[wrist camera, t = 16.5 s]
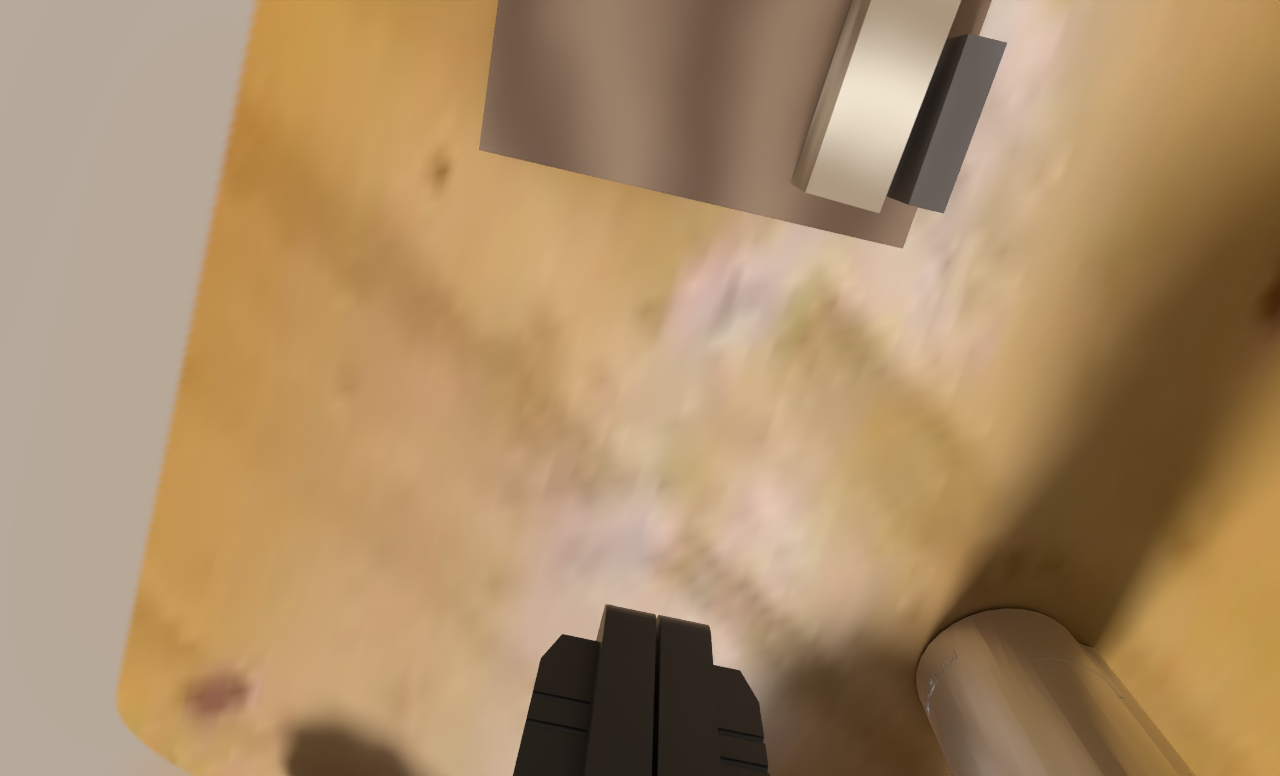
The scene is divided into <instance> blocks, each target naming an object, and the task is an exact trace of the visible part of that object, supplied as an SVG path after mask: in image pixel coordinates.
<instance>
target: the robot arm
mask: <svg viewBox="0 0 1280 776" xmlns="http://www.w3.org/2000/svg"><path fill="white" fill-rule="evenodd" d="M916 687H917V691H918V695H919V698H920V701H921V703H922V705H923V708H924V710H925V712H926V715H927V717H928V720H929V722H930V724H931V727H932V729H933V731H934V734H935V736H936V738H937V741H938V743H939V746H940V748H941V751H942V753H943V756H944V758H945V760H946V763H947V765H948V768H949V770H950V772H951V775H952V776H1195V774H1194V773H1193V772H1192V771H1191V769H1190V768H1189V767H1188V766H1187V764H1186V763H1185V762H1184V761H1183V759H1182V758H1181V757H1180V755H1179V754H1178V753H1177V752H1176V750H1175V749H1174V748H1173V747H1172V745H1171V744H1170V743H1169V742H1168V740H1167V739H1166V738H1165V736H1164V735H1163V734H1162V733H1161V731H1160V730H1159V729H1158V728H1157V726H1156V725H1155V724H1154V723H1153V721H1152V720H1151V719H1150V717H1149V716H1148V715H1147V714H1146V712H1145V711H1144V710H1143V709H1142V707H1141V706H1140V705H1139V704H1138V702H1137V701H1136V700H1135V698H1134V697H1133V696H1132V695H1131V693H1130V692H1129V691H1128V690H1127V688H1126V687H1125V686H1124V685H1123V683H1122V682H1121V681H1120V679H1119V678H1118V677H1117V676H1116V674H1115V673H1114V672H1113V671H1112V669H1111V668H1110V667H1109V665H1108V664H1107V663H1106V662H1105V660H1104V659H1103V658H1102V657H1101V655H1100V654H1099V653H1098V652H1097V650H1096V649H1095V648H1093V647H1090V646H1085V645H1082V644H1080V643H1078V642H1077V641H1076V640H1075V639H1074V637H1073V636H1072V635H1071V634H1070V632H1069V631H1068V630H1067V629H1066V628H1065V627H1064V626H1063V625H1061V624H1060V623H1059V622H1057V621H1056V620H1055V619H1053V618H1050V617H1048V616H1046V615H1044V614H1041V613H1038V612H1034V611H1029V610H1025V609H1008V608H1004V609H996V610H988V611H984V612H981V613H978V614H974V615H971V616H968V617H966V618H964V619H962V620H960V621H958V622H956V623H954V624H952V625H951V626H949V627H948V628H947V629H945V630H944V631H943V632H941V633H940V634H939V635H938V636H937V637H936V638H935V639H934V640H933V641H932V642H931V643H930V644H929V645H928V647H927V649H926V650H925V652H924V653H923V655H922V657H921V659H920V662H919V665H918V668H917V671H916ZM763 739H764V734H763V727H762V720H761V713H760V707H759V702H758V700H757V698H756V697H755V695H754V693H753V692H752V690H751V688H750V686H749V685H748V683H747V681H746V680H745V678H744V676H743V675H742V673H741V671H740V670H735V669H730V668H725V667H721V666H716V665H713V656H712V642H711V631H710V627H709V626H708V625H705V624H700V623H695V622H690V621H686V620H681V619H676V618H671V617H666V616H661V615H659V616H658V617H657V619H656V615H655V614H651V613H646V612H641V611H636V610H632V609H627V608H622V607H617V606H612V605H607V604H606V606H605V608H604V612H603V616H602V620H601V624H600V628H599V632H598V636H597V640H596V641H593V640H588V639H583V638H578V637H573V636H569V635H564V634H562V635H561V636H560V637H559V639H558V640H557V641H556V642H555V643H554V644H553V645H552V646H551V648H550V649H549V650H548V651H547V652H546V653H545V654H544V655H543V657H542V658H541V660H540V664H539V669H538V673H537V677H536V681H535V685H534V690H533V694H532V698H531V702H530V706H529V710H528V715H527V719H526V723H525V727H524V731H523V736H522V740H521V744H520V748H519V752H518V756H517V761H516V765H515V769H514V773H513V776H770V774H769V773H768V772H767V770H768V761H767V754H766V747H765V744H764V743H763Z"/></svg>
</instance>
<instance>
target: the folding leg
mask: <svg viewBox="0 0 1280 776" xmlns="http://www.w3.org/2000/svg"><path fill="white" fill-rule="evenodd" d="M960 2H961V0H852V2H851V5H850V8H849V11H848V14H847V17H846V20H845V23H844V26H843V29H842V32H841V35H840V38H839V41H838V44H837V47H836V50H835V53H834V56H833V59H832V62H831V65H830V68H829V71H828V74H827V77H826V81H825V84H824V87H823V90H822V93H821V96H820V99H819V102H818V105H817V108H816V111H815V114H814V117H813V120H812V123H811V126H810V129H809V132H808V135H807V138H806V141H805V144H804V147H803V150H802V153H801V156H800V159H799V162H798V165H797V168H796V171H795V174H794V177H793V180H792V183H791V184H792V185H794V186H795V187H797V188H799V189H800V190H802V191H804V192H806V193H809V194H813V195H816V196H820V197H823V198H827V199H830V200H834V201H837V202H841V203H844V204H848V205H852V206H855V207H859V208H862V209H866V210H869V211H873V212H876V213H880V211H881V208H882V206H883V203H884V200H885V198H886V195H887V193H888V190H889V187H890V185H891V182H892V180H893V177H894V174H895V172H896V169H897V167H898V164H899V161H900V159H901V156H902V154H903V151H904V148H905V146H906V143H907V141H908V138H909V135H910V133H911V130H912V127H913V125H914V122H915V120H916V117H917V114H918V112H919V109H920V107H921V104H922V101H923V99H924V96H925V94H926V91H927V88H928V86H929V83H930V81H931V78H932V75H933V73H934V70H935V68H936V65H937V62H938V60H939V57H940V55H941V52H942V49H943V47H944V44H945V42H946V39H947V36H948V34H949V31H950V29H951V26H952V23H953V21H954V18H955V16H956V13H957V10H958V8H959V5H960Z"/></svg>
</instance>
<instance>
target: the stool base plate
mask: <svg viewBox="0 0 1280 776" xmlns="http://www.w3.org/2000/svg"><path fill="white" fill-rule="evenodd" d="M851 2H852V0H498V8H497V16H496V23H495V31H494V39H493V47H492V54H491V62H490V70H489V77H488V85H487V93H486V101H485V108H484V116H483V124H482V132H481V139H480V147H479V150H482V151H486V152H490V153H494V154H499V155H503V156H507V157H512V158H516V159H520V160H525V161H529V162H533V163H537V164H542V165H546V166H550V167H555V168H559V169H563V170H568V171H572V172H576V173H580V174H585V175H589V176H593V177H598V178H602V179H606V180H611V181H615V182H619V183H623V184H628V185H632V186H636V187H641V188H645V189H649V190H654V191H658V192H662V193H666V194H671V195H675V196H679V197H684V198H688V199H692V200H696V201H701V202H705V203H709V204H714V205H718V206H722V207H727V208H731V209H735V210H739V211H744V212H748V213H752V214H757V215H761V216H765V217H770V218H774V219H778V220H782V221H787V222H791V223H795V224H800V225H804V226H808V227H813V228H817V229H821V230H825V231H830V232H834V233H838V234H843V235H847V236H851V237H856V238H860V239H864V240H868V241H873V242H877V243H881V244H886V245H890V246H894V247H898V248H903V246H904V244H905V241H906V238H907V235H908V232H909V230H910V227H911V224H912V221H913V218H914V216H915V213H916V210H917V207H919V208H923V209H928V210H932V211H936V212H940V213H944V211H945V209H946V206H947V203H948V201H949V198H950V195H951V193H952V190H953V187H954V184H955V182H956V179H957V176H958V174H959V171H960V168H961V166H962V163H963V160H964V158H965V155H966V152H967V150H968V147H969V144H970V141H971V139H972V136H973V133H974V131H975V128H976V125H977V123H978V120H979V117H980V115H981V112H982V109H983V107H984V104H985V101H986V98H987V96H988V93H989V90H990V88H991V85H992V82H993V80H994V77H995V74H996V72H997V69H998V66H999V64H1000V61H1001V58H1002V55H1003V53H1004V50H1005V47H1006V45H1007V43H1006V42H1001V41H997V40H993V39H989V38H985V37H981V36H979V34H980V31H981V28H982V25H983V23H984V20H985V17H986V14H987V11H988V9H989V6H990V3H991V0H961V2H960V5H959V8H958V10H957V13H956V16H955V18H954V21H953V23H952V26H951V29H950V31H949V34H948V36H947V39H946V42H945V44H944V47H943V49H942V52H941V55H940V57H939V60H938V62H937V65H936V68H935V70H934V73H933V75H932V78H931V81H930V83H929V86H928V88H927V91H926V94H925V96H924V99H923V101H922V104H921V107H920V109H919V112H918V114H917V117H916V120H915V122H914V125H913V127H912V130H911V133H910V135H909V138H908V141H907V143H906V146H905V148H904V151H903V154H902V156H901V159H900V161H899V164H898V167H897V169H896V172H895V174H894V177H893V180H892V182H891V185H890V187H889V190H888V193H887V195H886V198H885V200H884V203H883V206H882V208H881V211H880V213H876V212H873V211H869V210H866V209H862V208H859V207H855V206H852V205H848V204H844V203H841V202H837V201H834V200H830V199H827V198H823V197H820V196H816V195H813V194H809V193H806V192H804V191H802V190H800V189H799V188H797V187H795V186H794V185H792V184H791V183H792V180H793V177H794V174H795V171H796V168H797V165H798V162H799V159H800V156H801V153H802V150H803V147H804V144H805V141H806V138H807V135H808V132H809V129H810V126H811V123H812V120H813V117H814V114H815V111H816V108H817V105H818V102H819V99H820V96H821V93H822V90H823V87H824V84H825V81H826V77H827V74H828V71H829V68H830V65H831V62H832V59H833V56H834V53H835V50H836V47H837V44H838V41H839V38H840V35H841V32H842V29H843V26H844V23H845V20H846V17H847V14H848V11H849V8H850V5H851Z"/></svg>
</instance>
